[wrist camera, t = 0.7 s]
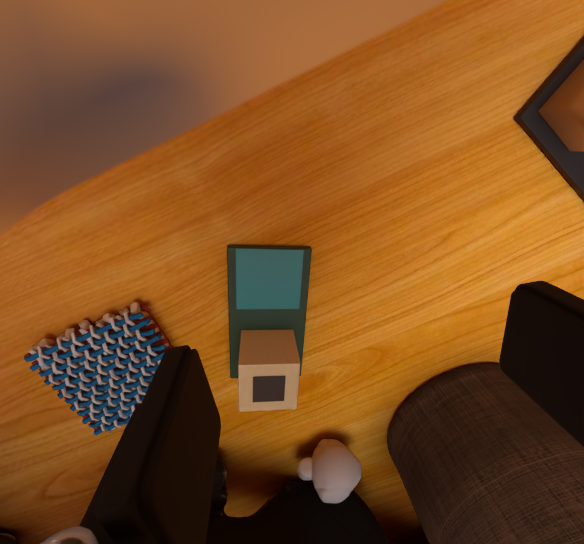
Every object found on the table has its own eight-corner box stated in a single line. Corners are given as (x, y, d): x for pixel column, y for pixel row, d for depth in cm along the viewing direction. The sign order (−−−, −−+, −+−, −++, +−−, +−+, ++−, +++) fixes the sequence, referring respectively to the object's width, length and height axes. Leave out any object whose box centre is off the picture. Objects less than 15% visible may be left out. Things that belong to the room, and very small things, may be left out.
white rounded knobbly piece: (360, 434, 30) (355, 453, 36) (295, 432, 31) (301, 451, 37) (366, 501, 26) (360, 510, 32) (293, 498, 27) (300, 507, 33)
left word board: (227, 244, 23) (220, 270, 18) (310, 246, 24) (324, 271, 19) (230, 374, 28) (225, 421, 23) (299, 371, 28) (308, 417, 24)
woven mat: (27, 341, 24) (7, 357, 22) (145, 294, 24) (136, 306, 22) (104, 423, 28) (93, 443, 26) (206, 385, 28) (203, 402, 26)
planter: (559, 413, 35) (772, 598, 21) (440, 493, 39) (549, 698, 24) (489, 331, 29) (720, 512, 15) (354, 434, 33) (432, 662, 18)
